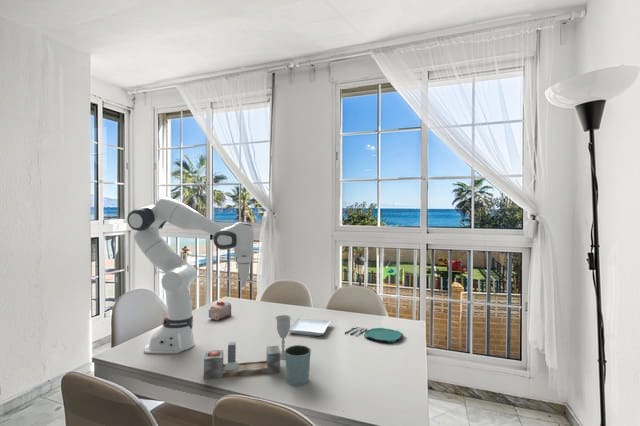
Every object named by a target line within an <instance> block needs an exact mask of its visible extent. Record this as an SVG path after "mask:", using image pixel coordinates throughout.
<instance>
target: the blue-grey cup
mask: <svg viewBox="0 0 640 426" xmlns="http://www.w3.org/2000/svg"><path fill="white" fill-rule="evenodd" d="M284 350H285V357H286V359H285V369H286V382H287V383H288V384H289V385H291V386H303V385H306V384H307V383H308V382H309V377H310V375H309V373H310V362H311V354H312V353H311V352H312V349H311V348H310V347H309V346H307V345H302V344H301V345H300V344H294V345H291V346H288V347H287V348H285V349H284Z"/></svg>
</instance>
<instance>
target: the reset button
mask: <svg viewBox="0 0 640 426" xmlns="http://www.w3.org/2000/svg"><path fill="white" fill-rule="evenodd" d="M211 351H212V350H211ZM212 356H219V352H218V351H212V352H210V353H209V357H212Z"/></svg>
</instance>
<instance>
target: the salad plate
mask: <svg viewBox="0 0 640 426" xmlns="http://www.w3.org/2000/svg"><path fill="white" fill-rule="evenodd" d="M331 323H332V320H328V319H327V320H326V319H316V318H304V317H303V318H302V317H298V318H296V319H295V320H294V321H293V322H292V323H290V329H289V332H288V333H291V334H295V335H304V334H305V335H306V336H314V337H315V336H316V337H317V336H322V335H324V334H325V332H326V330H327V329H328V328H329V326H330V325H331Z"/></svg>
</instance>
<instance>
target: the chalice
mask: <svg viewBox="0 0 640 426" xmlns="http://www.w3.org/2000/svg"><path fill="white" fill-rule="evenodd" d="M275 319H276V330H277V334H278V335H279V337H280V338H281V346H280V347H281V350H280V360H286V357H285V350H286V349H285V347H286V345H285V342H286V341H285V338H287V337H288V334H289V333H290V332H289V329H290V325H291V319H292V316H291V315H288V314H287V315H286V314H282V315H278V316H275Z"/></svg>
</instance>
